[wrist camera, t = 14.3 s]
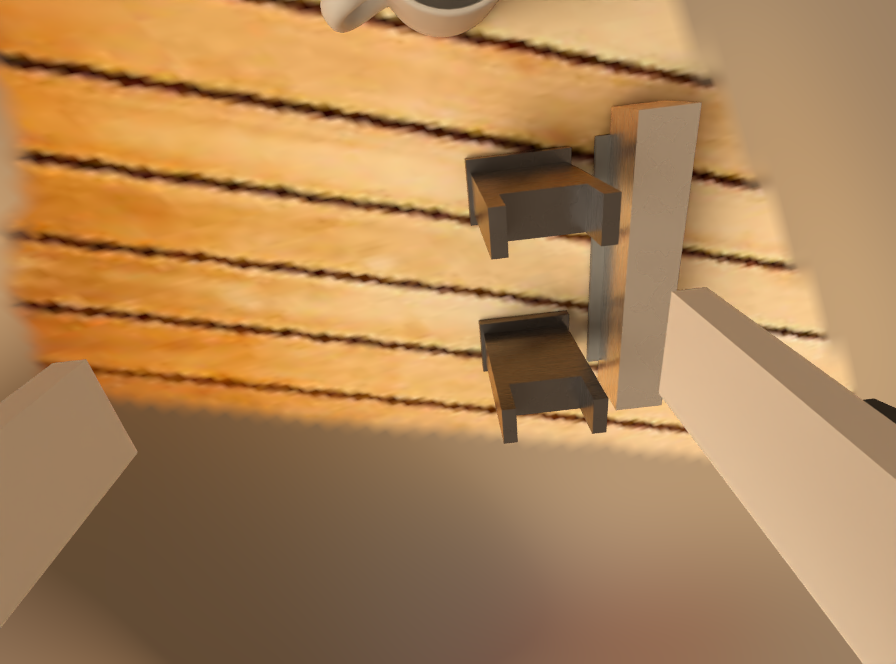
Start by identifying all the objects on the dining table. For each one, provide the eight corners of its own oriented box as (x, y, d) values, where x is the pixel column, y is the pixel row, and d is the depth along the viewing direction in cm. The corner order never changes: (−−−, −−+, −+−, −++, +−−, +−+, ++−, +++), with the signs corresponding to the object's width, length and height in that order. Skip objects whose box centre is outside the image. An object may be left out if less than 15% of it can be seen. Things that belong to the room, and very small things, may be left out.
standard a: (464, 158, 36) (481, 189, 25) (568, 146, 36) (628, 172, 25) (470, 223, 38) (487, 276, 28) (567, 211, 38) (622, 260, 28)
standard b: (478, 320, 42) (496, 399, 32) (566, 310, 42) (613, 386, 32) (482, 367, 45) (500, 454, 34) (566, 357, 45) (609, 442, 34)
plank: (594, 136, 36) (596, 136, 35) (673, 126, 35) (676, 126, 35) (586, 359, 45) (587, 361, 45) (649, 352, 45) (650, 354, 45)
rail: (611, 106, 34) (639, 109, 30) (666, 100, 34) (701, 102, 30) (597, 378, 46) (616, 410, 41) (638, 373, 46) (661, 405, 41)
